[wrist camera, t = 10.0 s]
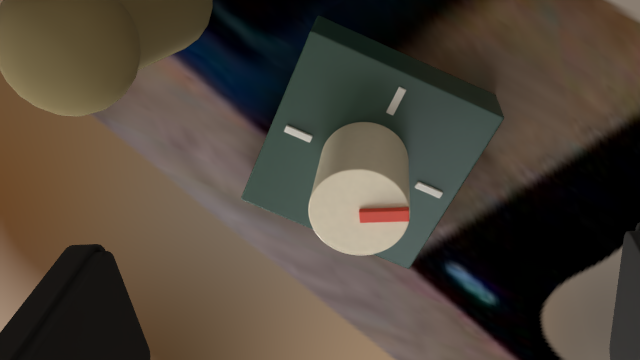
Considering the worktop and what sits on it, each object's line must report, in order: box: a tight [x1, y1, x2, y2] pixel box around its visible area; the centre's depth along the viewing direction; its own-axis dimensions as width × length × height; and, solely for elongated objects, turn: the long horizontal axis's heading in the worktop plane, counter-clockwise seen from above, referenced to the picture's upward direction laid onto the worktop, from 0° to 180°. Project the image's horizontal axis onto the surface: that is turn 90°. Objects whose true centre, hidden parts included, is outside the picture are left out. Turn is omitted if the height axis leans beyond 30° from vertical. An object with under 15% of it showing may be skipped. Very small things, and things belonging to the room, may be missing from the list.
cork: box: [0, 0, 213, 116], centre depth 26 cm, size 6×6×11 cm
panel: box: [241, 16, 504, 269], centre depth 32 cm, size 10×10×3 cm
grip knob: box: [308, 122, 410, 255], centre depth 29 cm, size 4×4×5 cm
